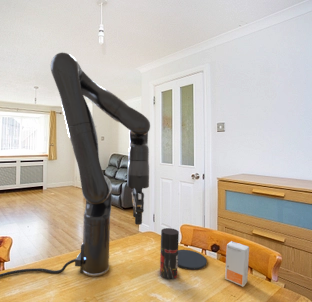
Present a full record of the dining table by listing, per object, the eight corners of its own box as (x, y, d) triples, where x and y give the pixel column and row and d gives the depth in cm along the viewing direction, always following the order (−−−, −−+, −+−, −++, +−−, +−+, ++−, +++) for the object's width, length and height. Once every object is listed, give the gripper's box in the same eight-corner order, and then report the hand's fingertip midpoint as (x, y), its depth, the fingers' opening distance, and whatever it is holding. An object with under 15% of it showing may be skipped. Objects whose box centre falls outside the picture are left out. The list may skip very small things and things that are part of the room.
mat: (171, 268, 81) (171, 266, 81) (168, 250, 95) (168, 248, 95) (210, 271, 80) (211, 268, 80) (201, 252, 94) (202, 250, 94)
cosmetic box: (224, 279, 75) (226, 244, 75) (229, 274, 78) (230, 240, 78) (243, 287, 71) (245, 250, 71) (248, 282, 74) (249, 246, 74)
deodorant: (177, 280, 74) (178, 235, 73) (159, 277, 75) (160, 233, 75) (177, 270, 80) (178, 229, 79) (160, 268, 81) (162, 227, 80)
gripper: (126, 172, 85) (125, 215, 84) (128, 175, 71) (127, 227, 70) (146, 172, 85) (145, 215, 85) (152, 175, 71) (151, 227, 71)
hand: (137, 220), depth 78 cm, fingers open, 8 cm apart
